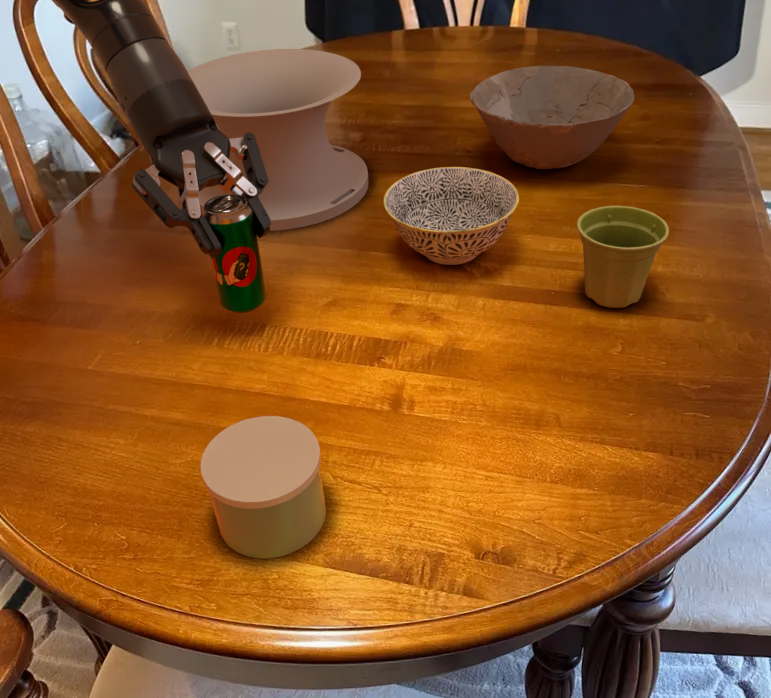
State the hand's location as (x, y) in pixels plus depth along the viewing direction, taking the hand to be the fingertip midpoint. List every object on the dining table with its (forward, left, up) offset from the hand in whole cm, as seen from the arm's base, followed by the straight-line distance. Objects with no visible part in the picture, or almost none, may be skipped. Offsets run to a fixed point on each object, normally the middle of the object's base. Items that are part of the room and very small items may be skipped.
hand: (241, 243), depth 81 cm
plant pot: (+39, -6, -11) cm, 42 cm away
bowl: (+25, +9, -11) cm, 29 cm away
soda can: (-1, +2, -8) cm, 9 cm away
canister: (-3, -26, -11) cm, 29 cm away
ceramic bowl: (+47, +29, -11) cm, 57 cm away
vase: (+8, +34, -11) cm, 36 cm away
